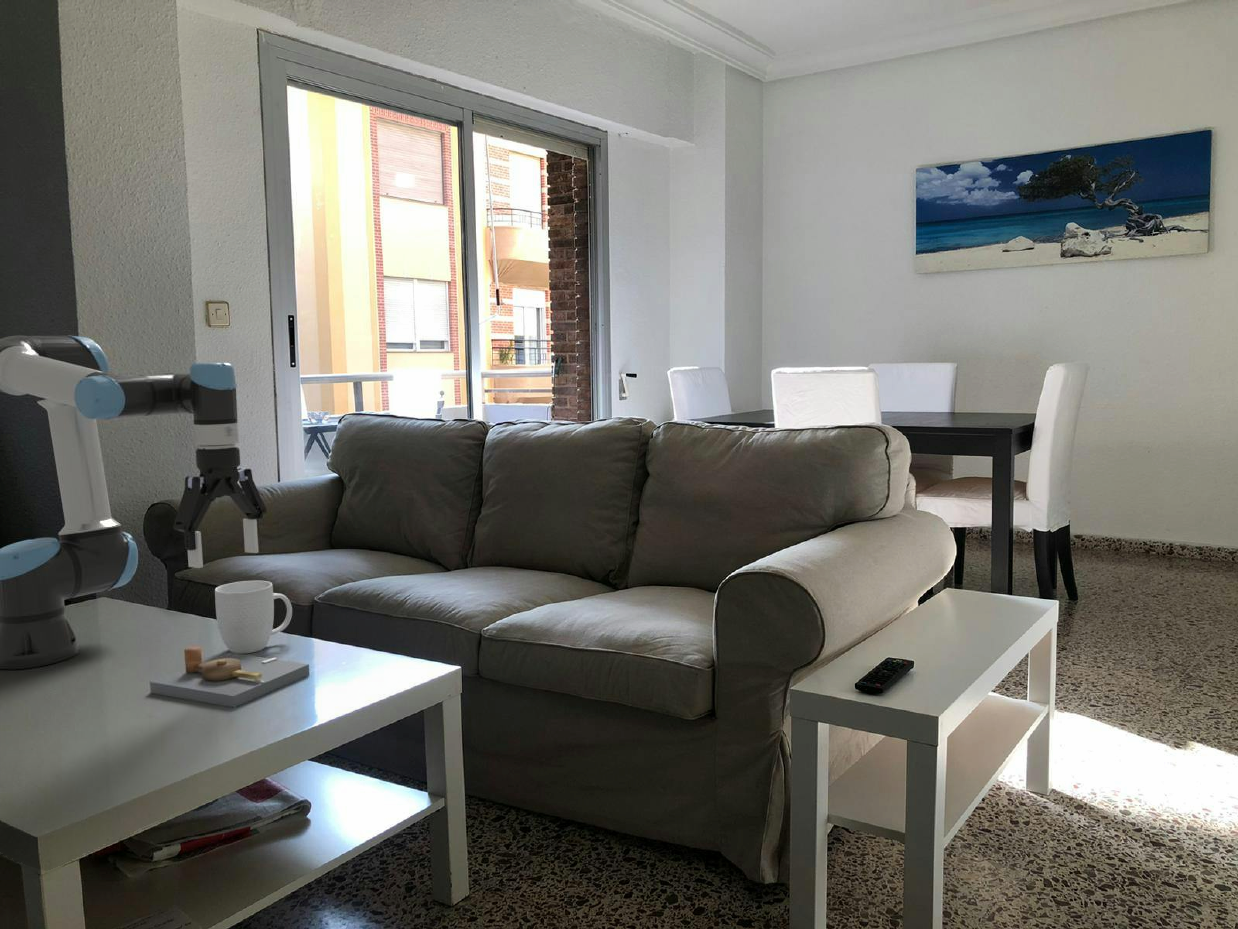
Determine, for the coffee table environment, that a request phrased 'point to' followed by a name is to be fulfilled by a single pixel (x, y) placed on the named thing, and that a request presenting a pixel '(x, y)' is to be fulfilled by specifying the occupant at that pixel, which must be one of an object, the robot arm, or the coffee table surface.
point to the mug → (248, 615)
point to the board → (231, 681)
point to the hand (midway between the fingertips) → (224, 559)
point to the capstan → (216, 667)
